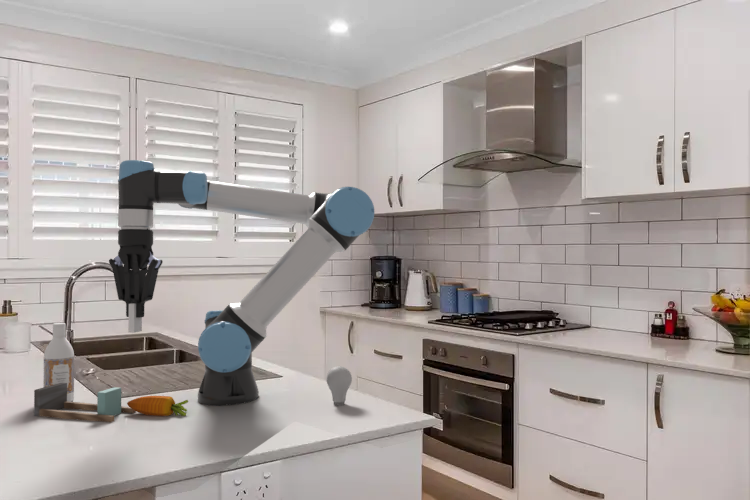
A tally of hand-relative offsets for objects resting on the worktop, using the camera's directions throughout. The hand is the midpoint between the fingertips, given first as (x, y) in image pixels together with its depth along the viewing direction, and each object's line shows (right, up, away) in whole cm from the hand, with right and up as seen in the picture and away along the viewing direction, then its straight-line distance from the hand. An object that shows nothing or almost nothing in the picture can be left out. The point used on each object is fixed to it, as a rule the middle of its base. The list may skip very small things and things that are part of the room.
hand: (135, 331), depth 144 cm
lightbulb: (+46, -21, +8) cm, 51 cm away
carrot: (-4, -17, +4) cm, 18 cm away
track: (-12, -20, +4) cm, 24 cm away
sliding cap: (-7, -20, +2) cm, 21 cm away
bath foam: (-26, -20, +16) cm, 36 cm away
